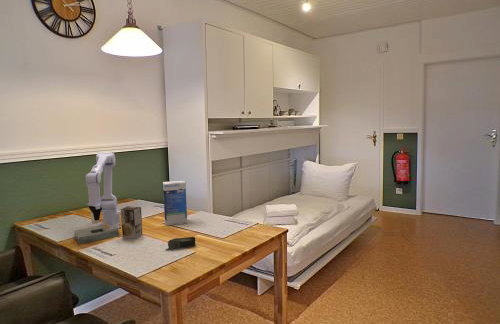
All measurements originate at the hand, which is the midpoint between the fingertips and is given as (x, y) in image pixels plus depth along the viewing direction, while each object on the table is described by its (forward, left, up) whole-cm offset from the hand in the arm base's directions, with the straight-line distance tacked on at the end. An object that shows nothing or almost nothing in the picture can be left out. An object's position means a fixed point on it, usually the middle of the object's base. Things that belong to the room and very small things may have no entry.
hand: (96, 219), depth 187 cm
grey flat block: (0, -2, -10) cm, 10 cm away
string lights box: (-45, +2, -10) cm, 46 cm away
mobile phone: (-30, +42, -11) cm, 53 cm away
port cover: (-8, 0, -7) cm, 10 cm away
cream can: (0, 0, -2) cm, 2 cm away
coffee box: (-16, +10, -10) cm, 22 cm away
